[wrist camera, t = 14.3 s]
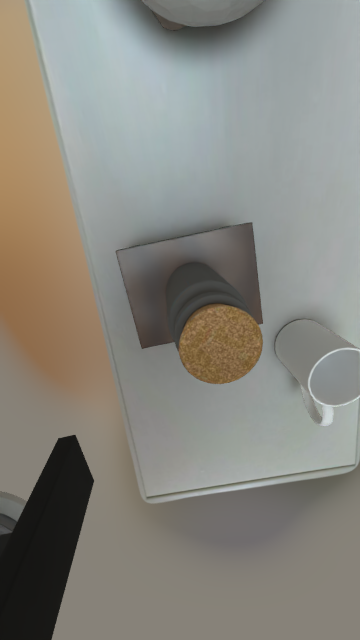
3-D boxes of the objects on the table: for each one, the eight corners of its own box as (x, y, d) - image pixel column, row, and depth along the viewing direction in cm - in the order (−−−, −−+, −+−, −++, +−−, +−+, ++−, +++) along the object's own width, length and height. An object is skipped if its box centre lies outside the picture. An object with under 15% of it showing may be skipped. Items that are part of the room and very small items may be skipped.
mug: (277, 318, 41) (313, 348, 31) (328, 317, 41) (381, 346, 31) (268, 390, 45) (298, 436, 35) (315, 388, 45) (359, 434, 35)
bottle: (192, 326, 31) (218, 410, 17) (154, 290, 29) (146, 349, 15) (231, 289, 30) (294, 346, 15) (194, 249, 28) (225, 272, 14)
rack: (146, 322, 40) (141, 348, 31) (126, 245, 36) (115, 251, 28) (241, 303, 40) (263, 323, 31) (231, 223, 36) (252, 222, 28)
